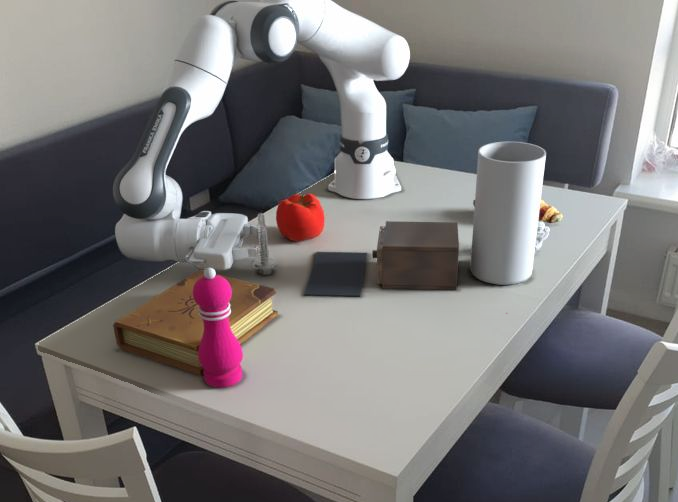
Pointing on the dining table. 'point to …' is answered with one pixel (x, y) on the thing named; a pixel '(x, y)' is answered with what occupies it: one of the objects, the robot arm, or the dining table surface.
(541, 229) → the frog figurine
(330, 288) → the mat
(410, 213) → the dining table surface
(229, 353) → the pepper mill
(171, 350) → the diary
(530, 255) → the cylinder vase
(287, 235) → the tomato
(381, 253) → the drawer
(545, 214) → the croissant
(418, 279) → the cabinet
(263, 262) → the screw
